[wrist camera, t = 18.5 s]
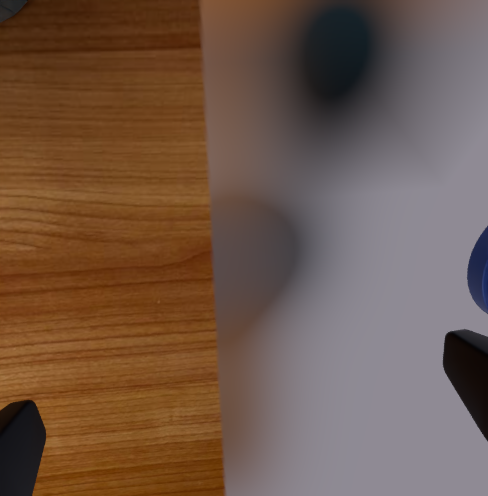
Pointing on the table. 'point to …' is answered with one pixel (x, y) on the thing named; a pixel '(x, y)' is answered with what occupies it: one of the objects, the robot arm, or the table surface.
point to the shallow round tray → (10, 8)
